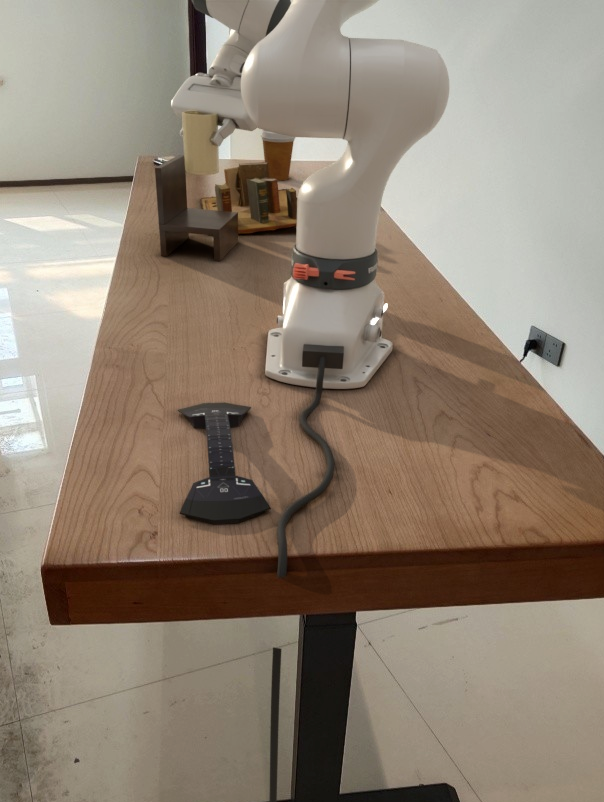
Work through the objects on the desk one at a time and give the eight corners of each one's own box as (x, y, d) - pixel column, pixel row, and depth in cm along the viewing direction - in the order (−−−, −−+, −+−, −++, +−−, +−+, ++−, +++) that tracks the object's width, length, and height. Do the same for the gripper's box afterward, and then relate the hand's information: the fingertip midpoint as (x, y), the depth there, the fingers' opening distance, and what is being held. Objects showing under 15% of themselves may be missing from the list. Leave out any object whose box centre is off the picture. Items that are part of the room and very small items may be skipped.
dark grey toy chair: (220, 261, 142) (217, 172, 133) (160, 255, 144) (154, 167, 135) (238, 242, 154) (237, 159, 145) (183, 237, 155) (179, 154, 146)
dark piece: (250, 405, 93) (249, 381, 91) (272, 521, 73) (272, 493, 71) (177, 408, 92) (176, 383, 90) (180, 526, 72) (177, 498, 70)
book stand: (316, 237, 159) (312, 162, 150) (207, 251, 157) (196, 176, 148) (293, 197, 187) (288, 132, 178) (201, 209, 185) (191, 144, 176)
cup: (213, 176, 137) (211, 116, 131) (180, 173, 138) (177, 113, 132) (222, 169, 142) (221, 111, 136) (191, 167, 143) (188, 109, 137)
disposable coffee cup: (301, 178, 209) (302, 131, 202) (278, 183, 203) (279, 135, 196) (276, 173, 214) (277, 127, 207) (253, 177, 208) (253, 130, 201)
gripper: (184, 59, 140) (150, 121, 139) (267, 68, 130) (230, 135, 129) (202, 85, 145) (169, 145, 144) (282, 95, 135) (247, 160, 134)
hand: (198, 140), depth 137 cm, fingers closed on cup, 6 cm apart
